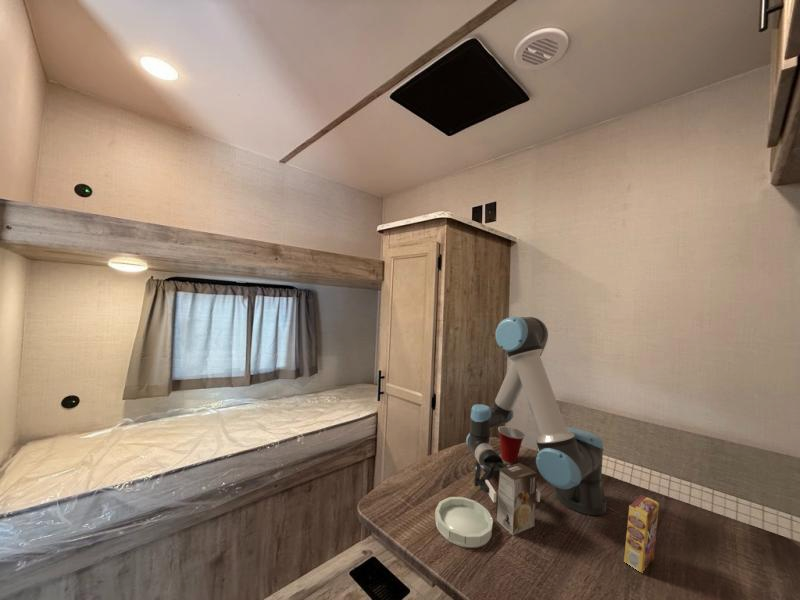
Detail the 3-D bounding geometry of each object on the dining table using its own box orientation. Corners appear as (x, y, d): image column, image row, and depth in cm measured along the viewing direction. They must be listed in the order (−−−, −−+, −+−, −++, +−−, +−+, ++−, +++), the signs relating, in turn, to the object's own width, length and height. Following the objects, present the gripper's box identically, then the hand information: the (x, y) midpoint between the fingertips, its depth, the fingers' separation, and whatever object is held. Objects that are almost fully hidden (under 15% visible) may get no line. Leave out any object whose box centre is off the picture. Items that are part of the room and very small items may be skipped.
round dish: (479, 505, 97) (479, 496, 97) (501, 546, 81) (502, 535, 81) (430, 506, 95) (431, 497, 95) (443, 548, 79) (443, 537, 79)
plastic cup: (527, 467, 122) (529, 437, 122) (500, 465, 122) (502, 435, 122) (517, 453, 133) (519, 426, 133) (493, 451, 133) (494, 424, 133)
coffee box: (517, 512, 95) (520, 461, 95) (535, 526, 89) (538, 472, 89) (495, 521, 91) (498, 467, 91) (512, 536, 85) (516, 479, 85)
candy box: (643, 576, 75) (647, 514, 74) (623, 563, 78) (626, 504, 78) (656, 560, 80) (659, 502, 80) (636, 548, 83) (639, 493, 83)
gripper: (520, 469, 111) (556, 509, 90) (454, 469, 109) (475, 510, 88) (521, 449, 111) (557, 484, 90) (455, 448, 109) (476, 485, 88)
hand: (517, 497), depth 89 cm, fingers open, 13 cm apart
